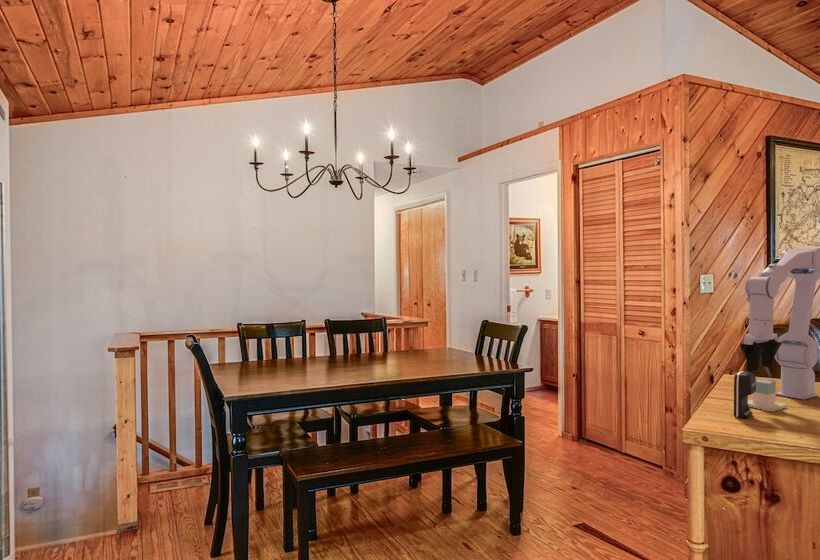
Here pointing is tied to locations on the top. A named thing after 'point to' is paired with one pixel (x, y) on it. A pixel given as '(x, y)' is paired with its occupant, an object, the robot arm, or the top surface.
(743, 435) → the top surface
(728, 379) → the top surface
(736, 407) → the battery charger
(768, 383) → the brick stack
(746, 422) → the top surface
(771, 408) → the plate
